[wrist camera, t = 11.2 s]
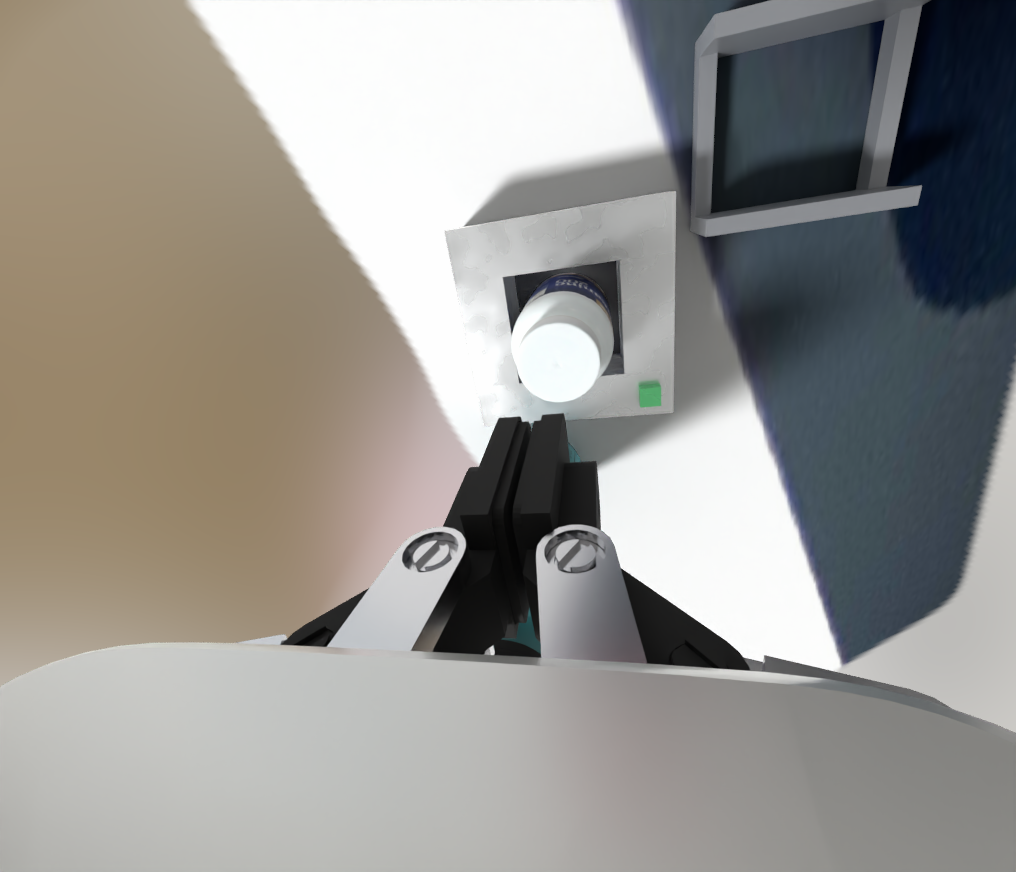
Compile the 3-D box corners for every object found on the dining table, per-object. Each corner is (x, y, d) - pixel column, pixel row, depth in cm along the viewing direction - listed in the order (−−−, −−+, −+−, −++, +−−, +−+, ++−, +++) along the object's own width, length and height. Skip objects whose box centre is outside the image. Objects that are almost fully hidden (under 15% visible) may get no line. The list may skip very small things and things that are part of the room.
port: (462, 226, 28) (441, 231, 24) (664, 191, 25) (678, 190, 21) (495, 402, 33) (482, 430, 29) (664, 388, 30) (675, 417, 26)
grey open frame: (695, 43, 22) (714, 14, 18) (909, -9, 20) (976, -52, 17) (690, 231, 26) (705, 237, 22) (870, 203, 24) (917, 205, 20)
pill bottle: (627, 305, 28) (642, 354, 20) (574, 368, 31) (567, 435, 22) (560, 252, 27) (546, 280, 19) (511, 321, 30) (480, 373, 22)
